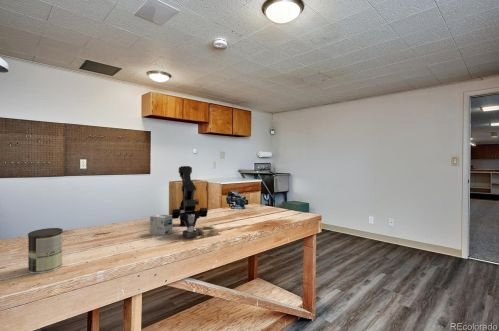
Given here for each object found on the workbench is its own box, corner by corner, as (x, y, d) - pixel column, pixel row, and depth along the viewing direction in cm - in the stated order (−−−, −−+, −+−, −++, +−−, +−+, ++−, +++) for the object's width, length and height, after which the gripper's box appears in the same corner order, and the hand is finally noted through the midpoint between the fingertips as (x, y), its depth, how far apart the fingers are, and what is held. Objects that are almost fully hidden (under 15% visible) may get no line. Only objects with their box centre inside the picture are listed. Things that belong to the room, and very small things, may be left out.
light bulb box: (172, 234, 143) (173, 215, 143) (164, 237, 137) (164, 217, 137) (158, 231, 148) (158, 213, 148) (149, 234, 142) (149, 215, 141)
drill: (186, 238, 133) (186, 215, 133) (187, 236, 136) (188, 213, 136) (193, 237, 133) (193, 215, 133) (194, 235, 137) (194, 213, 136)
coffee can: (20, 274, 91) (20, 235, 91) (41, 263, 101) (41, 227, 101) (51, 273, 92) (51, 235, 92) (68, 262, 102) (68, 227, 102)
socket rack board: (185, 244, 126) (185, 236, 126) (174, 238, 136) (175, 230, 135) (221, 236, 141) (222, 229, 140) (210, 231, 150) (210, 224, 150)
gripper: (172, 193, 135) (172, 219, 125) (207, 193, 141) (210, 217, 131) (171, 206, 143) (172, 231, 132) (204, 204, 149) (207, 228, 138)
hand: (190, 226), depth 133 cm, fingers closed on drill, 3 cm apart
